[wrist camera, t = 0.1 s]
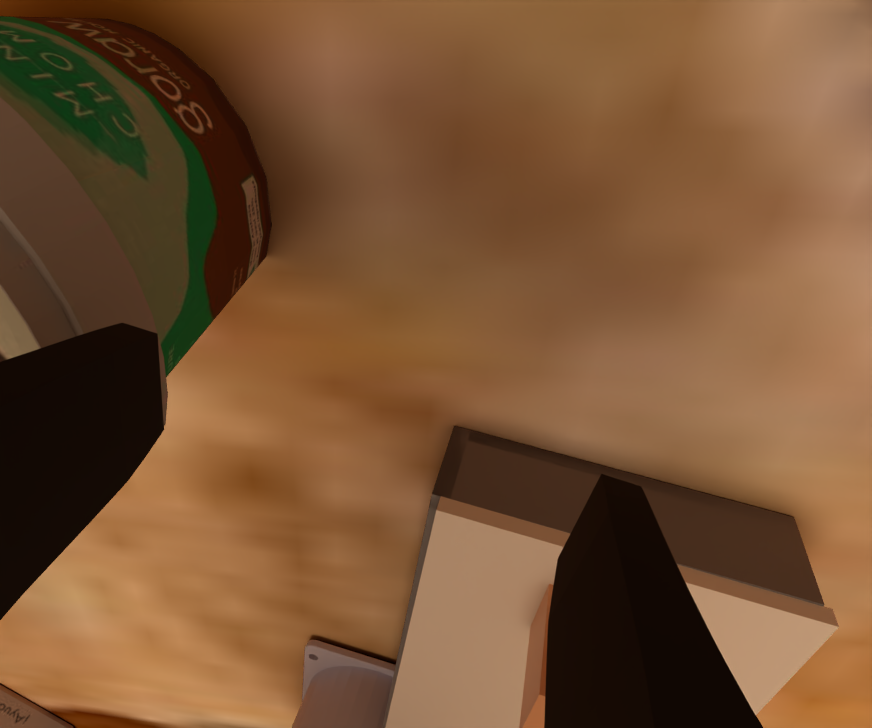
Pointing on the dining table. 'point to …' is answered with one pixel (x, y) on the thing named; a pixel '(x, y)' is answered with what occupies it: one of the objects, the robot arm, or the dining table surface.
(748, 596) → the lid
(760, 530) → the parts tub
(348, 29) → the dining table surface
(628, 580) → the robot arm
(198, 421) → the dining table surface
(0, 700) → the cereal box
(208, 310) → the food container
